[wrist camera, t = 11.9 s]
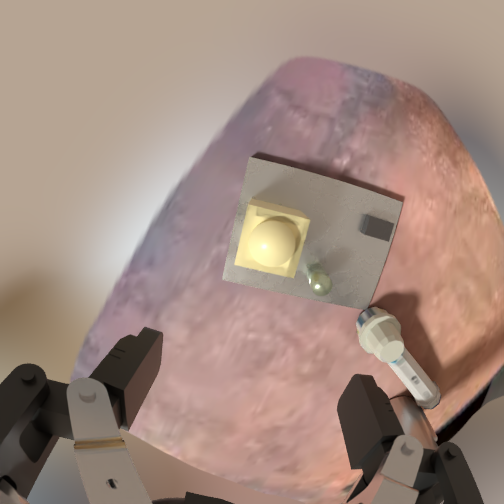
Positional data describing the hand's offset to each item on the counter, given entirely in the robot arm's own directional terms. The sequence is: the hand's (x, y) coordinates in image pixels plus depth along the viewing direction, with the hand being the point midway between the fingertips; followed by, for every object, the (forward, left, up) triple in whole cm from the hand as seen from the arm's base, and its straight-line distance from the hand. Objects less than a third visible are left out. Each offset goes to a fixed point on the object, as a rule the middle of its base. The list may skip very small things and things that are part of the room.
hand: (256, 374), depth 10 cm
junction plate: (-5, -2, -20) cm, 20 cm away
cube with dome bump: (0, -2, -19) cm, 19 cm away
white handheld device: (-24, +12, -20) cm, 34 cm away
